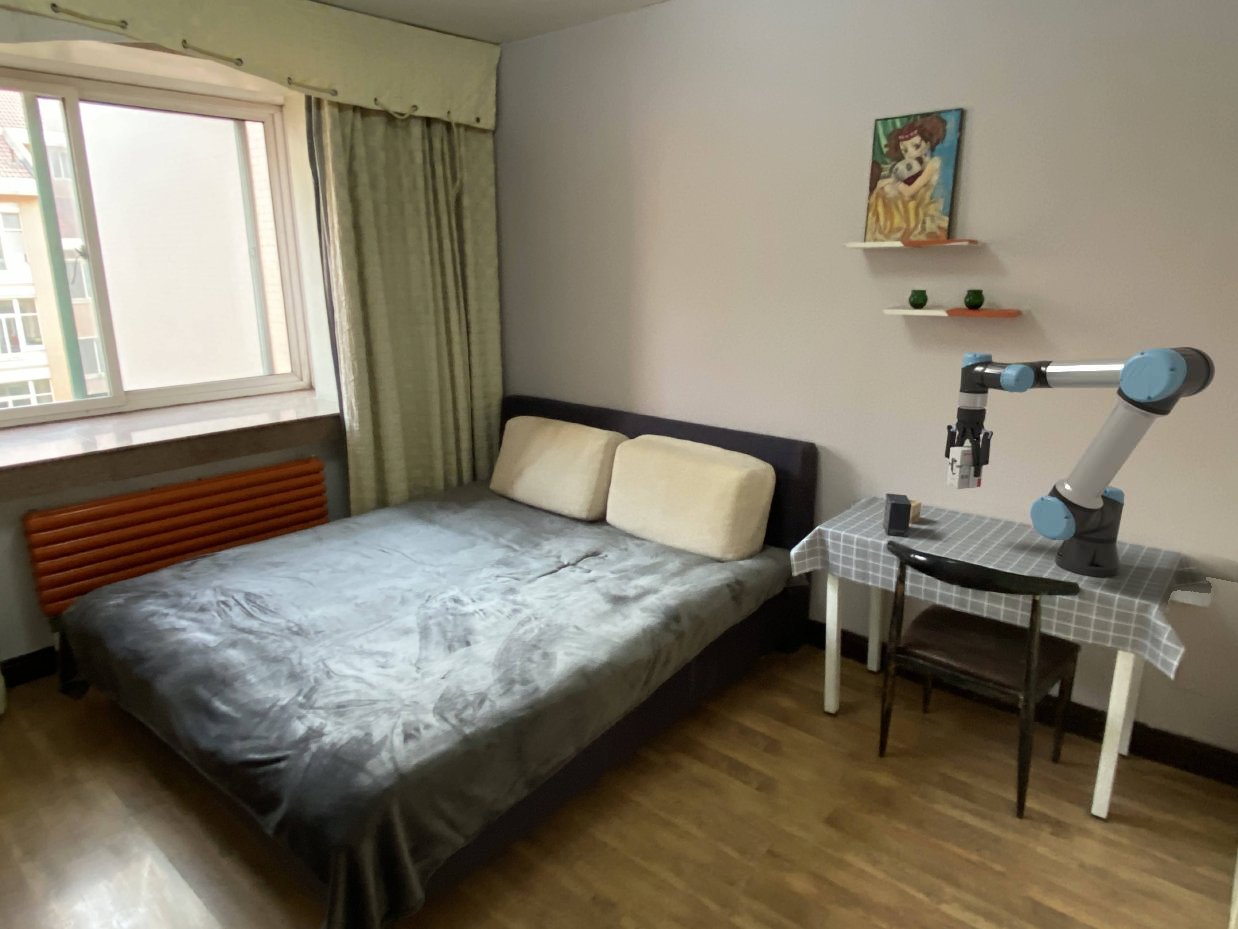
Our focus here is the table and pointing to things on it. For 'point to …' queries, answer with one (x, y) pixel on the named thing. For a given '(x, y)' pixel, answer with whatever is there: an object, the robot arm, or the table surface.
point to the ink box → (961, 467)
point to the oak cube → (914, 511)
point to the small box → (897, 515)
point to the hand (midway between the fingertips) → (963, 484)
